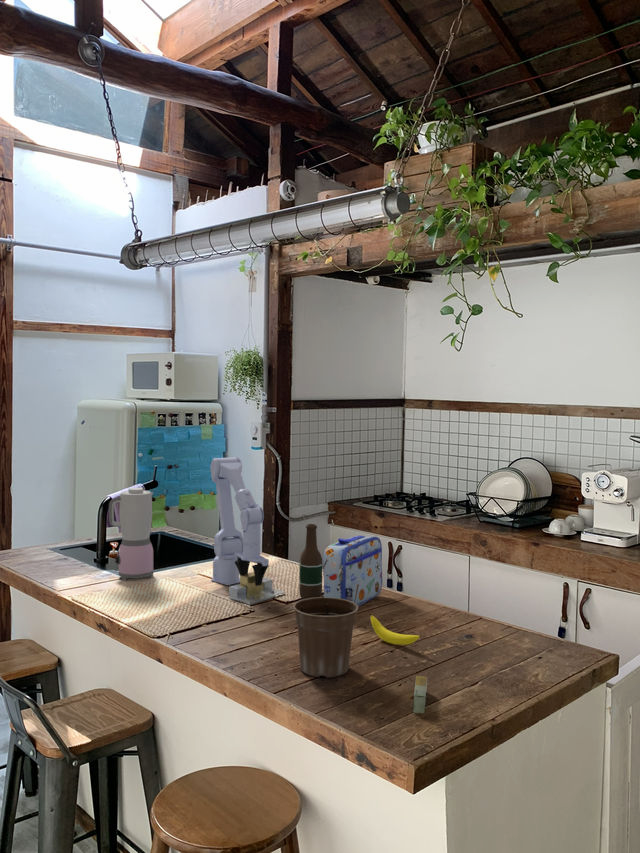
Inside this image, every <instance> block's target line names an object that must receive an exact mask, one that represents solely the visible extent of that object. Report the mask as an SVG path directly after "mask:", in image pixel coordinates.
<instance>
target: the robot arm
mask: <svg viewBox="0 0 640 853" xmlns="http://www.w3.org/2000/svg"><path fill="white" fill-rule="evenodd" d="M209 468H210V474H211V481H212V482H213V483H215V487H216V495H217V504H218V514H219V522H220V524H219V525H220V530H219V531H218V532H217V533H216V534H215V535H214V536H213V537H214V538H213V540H214V541H213V542H214V543H213V550H214V554H215V557H214V559H213V562H212V578H210V581H212V582H215V583H219V584H222V585H226V586H233V585H237V584H240V575H244V574H248V573H249V567H250V563H254V564H253V565H252V566H251V567H252V569H253V572H254V575H255V585H256V586H259V585H261V584H262V580H263V578H265V574H266V571H267V569H268V568H269V565H270V564H269V562H270V561H269V560H270V559H268V558H266V557H264V556H262V555H261V524H263V522H264V518H265V513H264V510H263V507H262V506H260V505H259V504H257V503H256V501H255V499H254V497H253V494H252V492H251V491H250V489H247V488H246V485H245V482H244V480H243V476H242V473H243V472H242V469H243V463H242V459H241V458H240V457H239V456H235V457H233V456H232V457H214V458H213V459H212V460H211V462H210V467H209ZM231 486H232V488H233V490H234V493H235V496H234V500H235V501H236V504H237V506H238V509H239V512H240V514H239V518H240V522H241V523H240V524H241V530H242V531H243V532H241V531H240V530H238V529H237V528H236V526H235V525H236V523H235V516H234V510H233V509H234V508H233V506H234V505H233V500H232V499H233V498H232V491H231V490H232V489H231Z"/></svg>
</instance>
